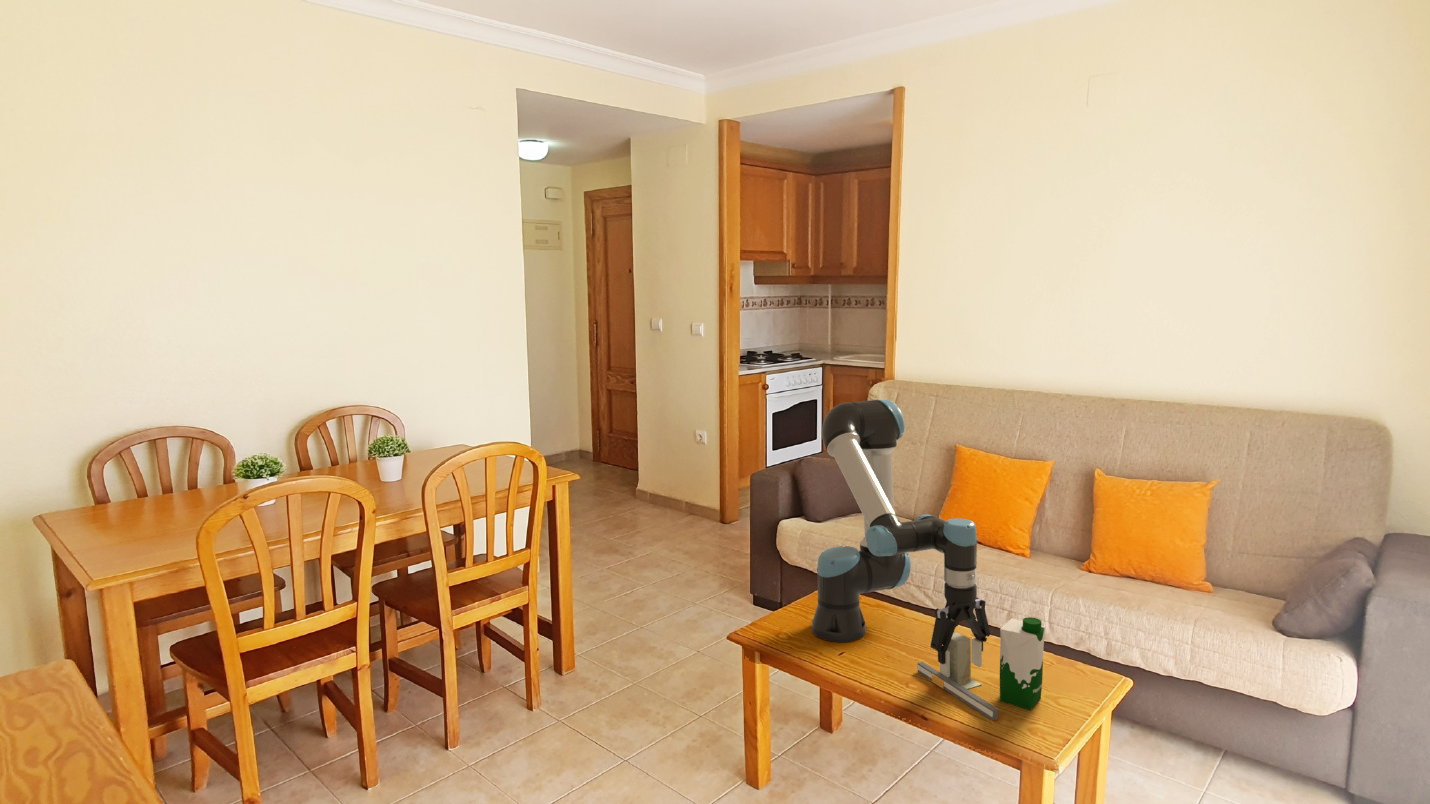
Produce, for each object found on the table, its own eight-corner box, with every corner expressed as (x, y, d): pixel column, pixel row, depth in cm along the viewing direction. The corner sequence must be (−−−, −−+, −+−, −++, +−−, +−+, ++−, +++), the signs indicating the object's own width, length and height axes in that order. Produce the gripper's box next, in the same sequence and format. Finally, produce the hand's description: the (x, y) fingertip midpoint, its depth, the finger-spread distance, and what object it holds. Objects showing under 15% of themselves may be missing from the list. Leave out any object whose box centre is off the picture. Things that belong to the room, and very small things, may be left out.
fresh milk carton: (1033, 713, 185) (1036, 629, 182) (994, 701, 191) (996, 620, 188) (1046, 698, 192) (1049, 617, 189) (1007, 686, 197) (1009, 608, 194)
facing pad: (933, 676, 204) (933, 675, 204) (955, 669, 206) (955, 669, 206) (958, 691, 195) (958, 691, 195) (981, 685, 198) (981, 684, 198)
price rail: (916, 672, 206) (916, 663, 205) (922, 670, 206) (922, 661, 206) (991, 721, 182) (991, 710, 182) (997, 718, 183) (997, 708, 183)
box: (971, 682, 200) (972, 639, 198) (957, 686, 198) (958, 643, 196) (956, 673, 204) (956, 631, 203) (942, 677, 202) (943, 634, 201)
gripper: (934, 597, 190) (935, 687, 193) (1006, 578, 199) (1005, 664, 202) (913, 587, 196) (915, 674, 200) (984, 569, 206) (984, 652, 209)
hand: (960, 669), depth 201 cm, fingers open, 9 cm apart
